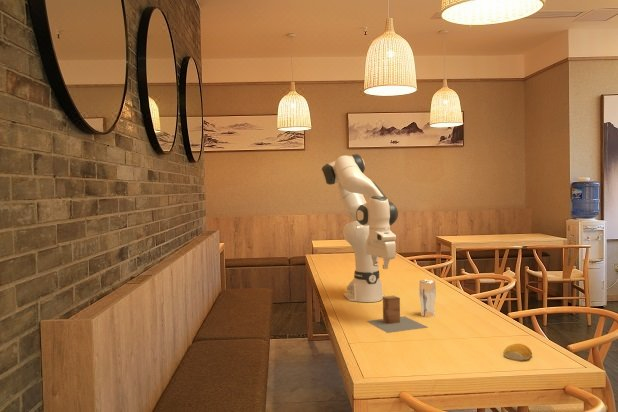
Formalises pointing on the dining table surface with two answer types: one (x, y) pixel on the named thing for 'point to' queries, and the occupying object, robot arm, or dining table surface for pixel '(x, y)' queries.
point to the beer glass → (427, 297)
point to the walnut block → (391, 309)
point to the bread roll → (517, 352)
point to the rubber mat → (397, 325)
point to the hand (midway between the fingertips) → (380, 267)
